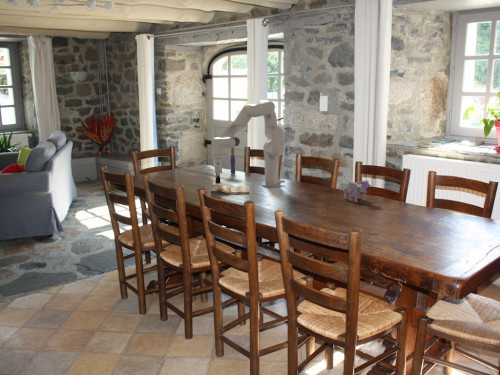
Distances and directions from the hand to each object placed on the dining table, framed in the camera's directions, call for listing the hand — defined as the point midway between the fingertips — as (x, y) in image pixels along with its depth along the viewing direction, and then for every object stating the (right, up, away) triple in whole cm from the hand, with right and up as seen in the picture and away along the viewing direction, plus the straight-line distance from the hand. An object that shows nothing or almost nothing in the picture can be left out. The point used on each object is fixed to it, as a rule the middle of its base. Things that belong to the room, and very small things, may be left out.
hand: (218, 183), depth 332 cm
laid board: (+14, -5, +3) cm, 15 cm away
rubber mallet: (+8, +8, +63) cm, 64 cm away
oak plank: (+1, -3, +1) cm, 3 cm away
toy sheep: (+88, -11, -28) cm, 93 cm away
